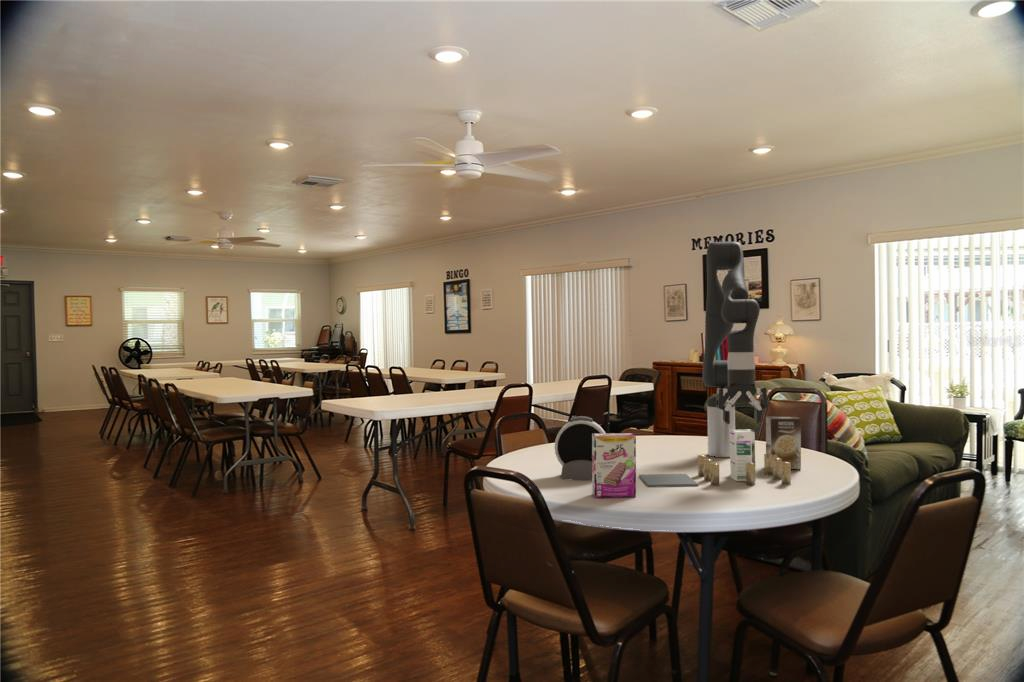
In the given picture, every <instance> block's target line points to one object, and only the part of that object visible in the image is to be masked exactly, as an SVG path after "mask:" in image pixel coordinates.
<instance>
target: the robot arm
mask: <svg viewBox="0 0 1024 682" xmlns="http://www.w3.org/2000/svg"><path fill="white" fill-rule="evenodd" d="M744 258H745V257H744V251H743V247H742V245H741V243H740V242H738V241H714V242H712V241H711V242H710V243H709V244H708V246H707V248H706V301H705V303H706V305H705V317H704V319H705V321H704V324H705V326H704V327H705V329H704V330H705V333H704V335H705V336H704V337H705V339H704V352H703V353H704V354H703V361H702V372H701V373H702V376H701V377H702V383H703V385H704V386H706V387H709V388H710V387H711V388H712V387H714V388H715V387H716V388H717V389H716V394H715V395H713V396H710V397H708V398H707V400H706V401H707V403H706V404H707V406H706V407H707V408H706V409H707V455H708V456H710V457H714V456H715V457H716V458H730V430H736V403H737V404H740V403H745V404H747V403H749V404H750V405H751V406H752V407H753V408H754V410H753V421H754V423H755V424H760V422H761V421H762V410H764V409H767V408H768V407H769V405H768V404H769V403H768V390H767V388H766V387H763V386H760V387H756V362H755V361H756V360H755V353H754V351H755V349H754V348H755V346H754V336H755V331H756V326H757V323H758V320H759V316H760V311H761V310H760V309H761V307H760V304H759V303H758V301H757V300H755V299H752V298H749V297H750V296H749V295H750V294H749V291H748V287H747V283H746V279H745V278H746V277H745V262H744V261H745V260H744ZM718 271H729V272H728V273H727V274H726V275H725V276H724V278H723V280H722V283H720V280H719V278H718ZM735 324H745V326H744V328H743V329H741V330H737V331H733V332H732V330H733V327H734V325H735ZM726 339H727V352H728V354H727V359H726V360H725V359H724V360H722V359H721V360H717V359H715V357H716V354H717V352H718V350H719V348H720V347H721V345H722V344H723V343H724V341H725V340H726ZM721 387H722V388H721ZM723 387H724V388H723ZM756 393H757V394H758V396H759V402H760V404H759V402H758V400H757V399H756V398H755V397H754V396H755V395H756Z"/></svg>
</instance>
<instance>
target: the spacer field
mask: <svg viewBox="0 0 1024 682" xmlns="http://www.w3.org/2000/svg"><path fill="white" fill-rule="evenodd" d="M763 461H764V463H763V466H764V475H765V474H767V475H766V476H772V480H774V479H781V485H784V484H790V485H791V484H792V481H791V479H792V477H791V472H792V470H791V466H790V462H781V458H773V455H772V454H766V453H765V454H764V456H763ZM755 474H756V462H755V463H752V462H747V463H746V481H745V484H747V486H756V481H755ZM772 474H773V475H772ZM698 475H699V476H698ZM697 476H698V477H703V480H704V481H705V480H711V481H710V486H712V485H719V486H720V463H717V462H713V459H712V458H707V455H706V454H698V455H697Z"/></svg>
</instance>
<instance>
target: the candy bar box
mask: <svg viewBox="0 0 1024 682" xmlns="http://www.w3.org/2000/svg"><path fill="white" fill-rule="evenodd" d="M636 436H637V435H635V434H634V433H621V432H620V433H606V434H592V480H591V490H592V492H591V493H592V495H593V497H594V498H597V499H598V498H600V499H601V498H603V499H604V498H606V499H607V498H610V499H611V498H636V496H637V459H636V457H637V453H636V452H637V451H636V449H637V448H636V446H637V445H636V443H637V442H636V441H637V439H636Z"/></svg>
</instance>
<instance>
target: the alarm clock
mask: <svg viewBox="0 0 1024 682" xmlns="http://www.w3.org/2000/svg"><path fill="white" fill-rule="evenodd" d="M592 434H607V433H606V431H605V430H604V429H603V428H602V426H601V425H599V424H598V423H597V422H595V421H594V420H593V418H592V417H589V416H585V415H584V416H583V415H580V416H574V417H571V418H569V421H568V422H567V423H566V424H564V425H563V426H562V427H561V429H560V430H559V431H558V433H557V434H556V438H555V440H554V448H553V449H554V454H555V456H556V458H557V461H558V462H559V464H560V465H561V475H560V479H561V478H562V479H561V480H565V479H572V480H571V481H592Z"/></svg>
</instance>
